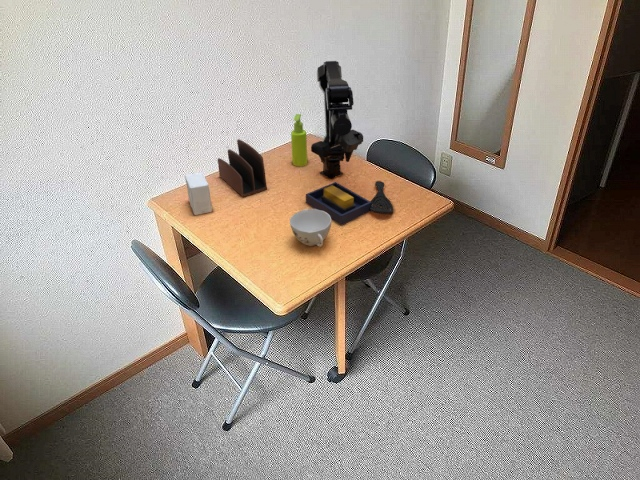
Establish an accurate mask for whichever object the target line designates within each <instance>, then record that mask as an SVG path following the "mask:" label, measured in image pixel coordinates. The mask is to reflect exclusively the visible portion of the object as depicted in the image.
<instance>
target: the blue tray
mask: <svg viewBox="0 0 640 480" xmlns="http://www.w3.org/2000/svg"><path fill="white" fill-rule="evenodd" d="M331 185H333V186H335V187H336V188H338V189H340V190H342V191H343V192H345V193H347V194H349V195H350V196H352V197H354V203H353V204H354V205H356V206H355V209H352V210H350V211H348V212H346V213H344V214H342V213H340V212H338V211H337V210H335V209H334V208H332V207H330V206H329V205H327V204H325V203H324V202H322V196H323V195H324V188H327V187H329V186H331ZM370 201H371V200H369V199H367V198H365V197H363V196H361V195H360V194H358V193H356V192H355V191H352V190H351V189H350V188H349V189H348V187H345V186H344V185H342V184H340V183H338V182H336V181H334V182H332V183H329V184H327V185H324V186H322V187H320V188H317V189H314V190H313V191H310V192H307V193H305V203H306V204H307V205H309V206H310V207H312V209H317V210H321V211H324V212H326V213H328V214H329V215H330V217H331V221H333V222H335V223H336V224H338V225H339V226H343V225H344V224H347V223H349V222H351V221H353V220H355V219H358V218H359V217H362V216H364V215H366V214H368V213H370V212H371V211H370V208H371V205H373V204H372V202H370Z"/></svg>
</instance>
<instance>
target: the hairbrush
mask: <svg viewBox="0 0 640 480" xmlns="http://www.w3.org/2000/svg"><path fill="white" fill-rule="evenodd" d="M374 185H375V187H376V189H377V192H376V193H375V195H374V196H373V197H372V199H371V200H369V201H370V202H372V205H371V208H370V212H372V213H375V214H384V215H391V214H393V213H394V205H393V203H392V200H391V198H389V197H388V196H387V195H386V194H385V191H384V188H385V182H384V181H381V180H377V181H375V182H374Z"/></svg>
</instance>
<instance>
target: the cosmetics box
mask: <svg viewBox="0 0 640 480" xmlns="http://www.w3.org/2000/svg"><path fill="white" fill-rule="evenodd" d="M184 180H185V184H186V190H187V196H188V202H189V205H190V207H191V210H192V213H193V215H194V216H197V215H203V214H208V213H211V212H213V206H212V205H213V204H212V198H211V197H212V196H211V192H210V185H209V183H208V180H207V178H206V177H205V175H204V173H203V171H200V172H195V173H188V174H184Z"/></svg>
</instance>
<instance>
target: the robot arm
mask: <svg viewBox="0 0 640 480" xmlns="http://www.w3.org/2000/svg"><path fill="white" fill-rule="evenodd" d="M342 77H343V74H342V66H341V65H340V62H339V61H337V60H326V61H323V64H322V65H320V66H318V67H317V70H316V82H317V83H318V87H319V89H320V90H321V92H322V93H323V104H324V105H323V106H324V125H325V127H324V128H325V135H324V137H323V139H322V140H320V141H317V142H314V143H312V144H311V145H310V152H311V153H313V154H315V155H317V156H318V157H319V159H320V162H321V163H322V171H320V172H319V174H321V175H322V176H324V177H325V178H327V179H330V180H332V179H334V178H337V177H340V176H342V175H344V172H343V171H341V162H344V159H345V162H347V163H349V162H350V160H351V157H352V155H353V152H354V151H356V150H358V147H359V146H360V145H362V144H363V142H364V135H363V133H362V132H360V131H357V130H355V129H352V127H353V125H352V124H353V123H352V122H351V121H352V120H351V119H350V117H349V114H348V111H351V110H353V106H354V102H355V101H354V94H353V90H352V87H351V86H350V85H349V82H348V81H346V80H344V79H343V78H342Z"/></svg>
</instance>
